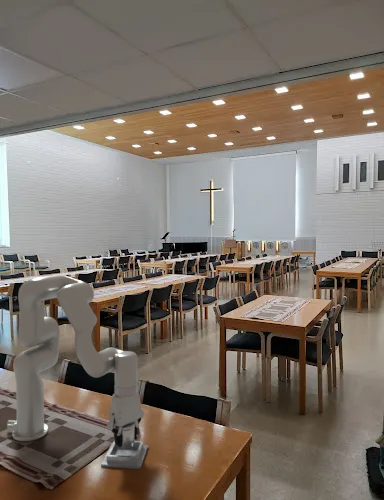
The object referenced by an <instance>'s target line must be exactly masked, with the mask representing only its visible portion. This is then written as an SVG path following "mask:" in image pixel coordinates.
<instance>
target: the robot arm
mask: <svg viewBox="0 0 384 500" xmlns="http://www.w3.org/2000/svg"><path fill="white" fill-rule="evenodd" d="M94 293H95V292H94V290H93V287H92V285H90V284H89V283H87V282H85V281H83V280H79V279H77V278H74V277H70V276H67V275H64V274H54V275H47V276H38V277H35V278H32V279H28V280H26V281H25V282H23V283H22V284H21V286H20V287H19V289H18V296H17V297H18V304H19V307H18V308H19V313H18V314H19V315H18V317H19V318H18V342H19V344H20V345H21V346H22V347H25V348H28V349H26V350H24V351H21V352H20V353H18V354H17V355H16V357H15V358H14V359H13V364H12V365H13V366H12V368H13V371H14V376H15V386H16V387H15V388H16V389H15V390H16V391H15V393H16V399H15V400H16V420H14V419H8V420H7V423H6V428H7V429H13V431H12V433H11V436H12V438H13V440H16V441H18V442H30V441H31V442H32V441H34V440H35V441H36V440H39V439H40V438H42V437H44V436H45V435H47V434H48V433H49V425H48V424H46V423H45V386H44V381H43V379H42V378H41V375H40V373H42V372H44V371H45V370H47V369H50V368H52V367H53V366H55V365H56V364H57V362H58V360H59V354H60V352H59V351H60V326H59V324H58V322H57V320H56V319H55V318H53V317H51V316H45V309H44V308H45V307H44V305H43V301H48V300H53V299H57V302H58V304H59V307H60V308H61V310H63V312H64V315H65V316H66V318H67V320H68V321H69V323H70V325H71V327H72V329H73V330H74V350H75V353H76V356H77V359H78V361H79V362H80V364H81V366H82V367H83V369H84V370H85V372H86V373H87V374H88V375H89V376H90V377H93V378H101V377H103V376H104V375H106V374H108V373H110V372H112V371H114V393H113V394H112V397H111V400H110V407H109V421H108V422H107V425H106V426H105V428H106V429H107V430H109V431H110V432H111V433H113V434H114V440H115V444H116V445H117V446H119V447H121V446H122V435H121V430H122V426H124V425H126V424H129V423H131V422H135V441H137V440H138V435H137V428H138V427H139V428H140V423H141V421H142V418H143V417H144V416H145V412H144V410H143V409H141V408H142V407H141V405H142V404H141V397H140V393H139V392H140V391H139V390H138V386H140V382H139V381H138V355H137V353H136V352H134V351H130V350H122V349H118V348H116V347H107V348H104V349H103V350H100V351H97V349H96V348H95V346H94V344H93V340H92V334H93V333H92V332H93V329H95V328H94V327H95V326H96V324H97V322H98V317H97V316H96V314H95V312H94V311H93V309H92V308H91V306H90V303H91V302H92V301H93V299H94V296H95V294H94ZM114 423H115V425H114V428H113V424H114ZM117 428H118V430H117Z"/></svg>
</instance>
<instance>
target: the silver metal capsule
mask: <svg viewBox="0 0 384 500" xmlns="http://www.w3.org/2000/svg"><path fill="white" fill-rule="evenodd" d="M121 435H122V446H121V447H120V448H122V449H127V448H131V447H133V446H134V444H135V441H136V440H135V422H131V423H129V424H126V425H124V426H122V430H121ZM118 447H119V446H118Z"/></svg>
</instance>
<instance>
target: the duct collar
mask: <svg viewBox="0 0 384 500" xmlns="http://www.w3.org/2000/svg"><path fill="white" fill-rule="evenodd" d="M148 448H149V445H148V444H144V441H141V440H135V444H134V446H133V447H131V448H127V449H122V448H120V447H118V446H117V445H116V444H115V439H114V441H113V442H111V444H110V445H109V448H108V450H107V452H106V454H105V456H104V458H103V460H102V462H101V464H100V467H101V468H117V469H118V468H119V469H131V470H132V469H135V470H141V469H142V467H143V463H144V460H145V457H146V455H147V451H148Z"/></svg>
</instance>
